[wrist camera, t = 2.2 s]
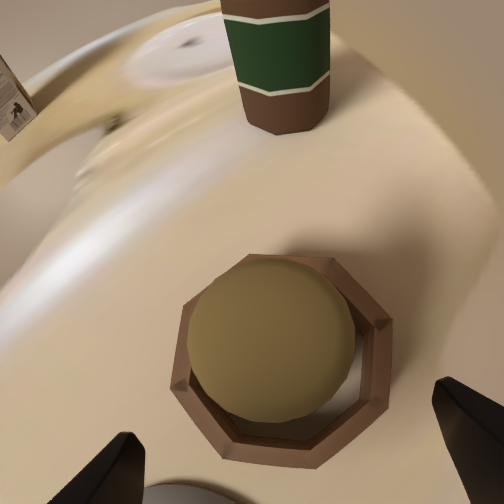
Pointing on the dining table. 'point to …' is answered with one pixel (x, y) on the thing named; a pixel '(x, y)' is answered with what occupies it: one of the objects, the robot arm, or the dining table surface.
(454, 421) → the robot arm
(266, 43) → the beer bottle
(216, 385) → the cork
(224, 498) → the slate coaster
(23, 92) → the coffee box
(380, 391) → the guard ring
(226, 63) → the dining table surface
